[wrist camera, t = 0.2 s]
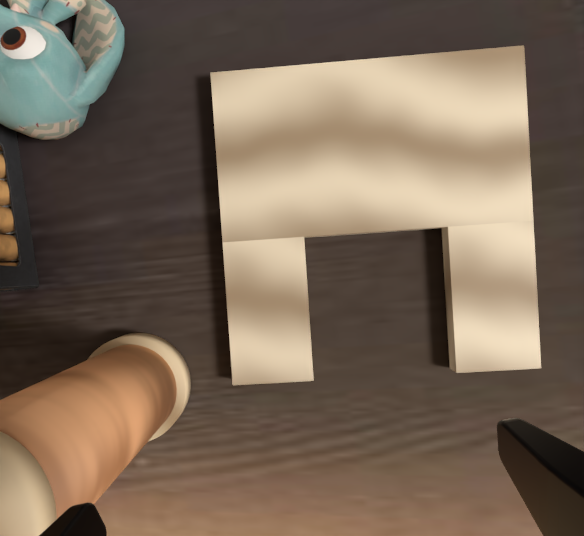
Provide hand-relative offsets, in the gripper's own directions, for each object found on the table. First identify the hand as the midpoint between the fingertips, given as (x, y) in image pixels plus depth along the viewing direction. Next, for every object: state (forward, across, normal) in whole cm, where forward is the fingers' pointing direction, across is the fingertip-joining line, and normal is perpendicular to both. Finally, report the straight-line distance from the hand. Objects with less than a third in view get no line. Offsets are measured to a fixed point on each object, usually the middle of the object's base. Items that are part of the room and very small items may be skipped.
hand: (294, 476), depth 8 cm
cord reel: (+14, +11, +5) cm, 19 cm away
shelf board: (+16, -6, -2) cm, 17 cm away
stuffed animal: (+21, +12, -16) cm, 28 cm away
